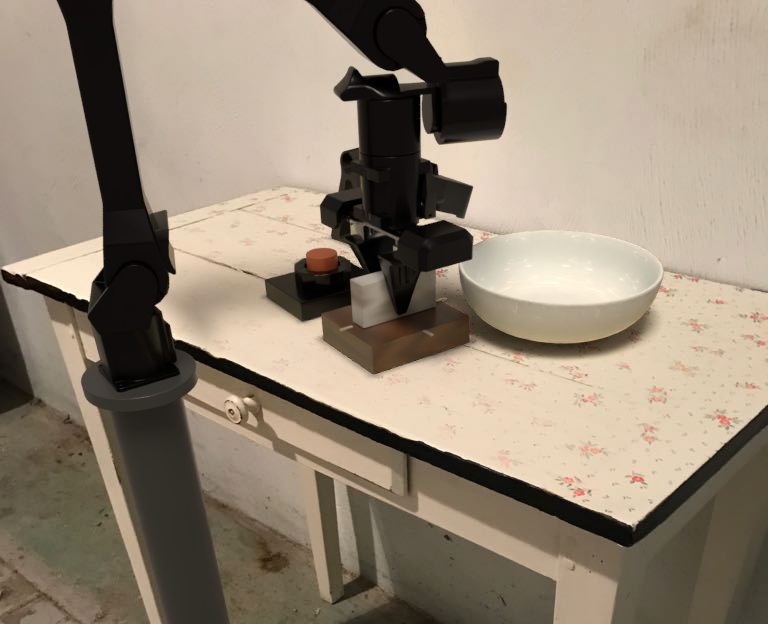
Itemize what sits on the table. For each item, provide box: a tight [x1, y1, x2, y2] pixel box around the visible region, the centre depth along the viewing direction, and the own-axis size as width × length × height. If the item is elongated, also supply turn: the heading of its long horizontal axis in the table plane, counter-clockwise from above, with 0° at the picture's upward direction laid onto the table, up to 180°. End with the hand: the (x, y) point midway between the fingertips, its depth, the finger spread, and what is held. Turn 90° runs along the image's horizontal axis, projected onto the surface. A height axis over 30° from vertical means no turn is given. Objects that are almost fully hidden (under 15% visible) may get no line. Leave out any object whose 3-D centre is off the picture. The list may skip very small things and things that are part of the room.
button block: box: [264, 255, 366, 322], centre depth 96 cm, size 11×9×4 cm
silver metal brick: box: [350, 269, 437, 328], centre depth 84 cm, size 9×2×5 cm, turn 123°
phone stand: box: [330, 146, 361, 244], centre depth 109 cm, size 9×6×12 cm, turn 43°
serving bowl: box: [458, 229, 665, 344], centre depth 87 cm, size 21×21×7 cm
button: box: [305, 247, 338, 271], centre depth 95 cm, size 4×4×2 cm
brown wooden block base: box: [320, 296, 471, 375], centre depth 86 cm, size 13×13×3 cm
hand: (394, 309), depth 85 cm, fingers closed on silver metal brick, 2 cm apart
